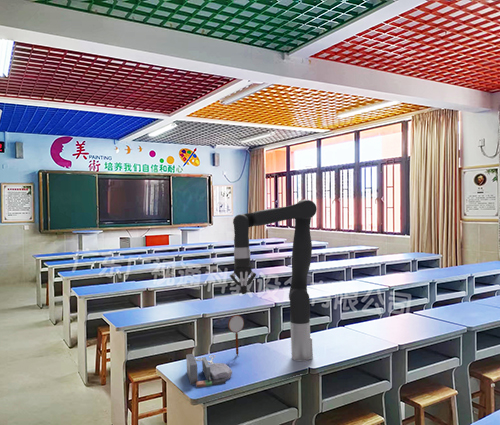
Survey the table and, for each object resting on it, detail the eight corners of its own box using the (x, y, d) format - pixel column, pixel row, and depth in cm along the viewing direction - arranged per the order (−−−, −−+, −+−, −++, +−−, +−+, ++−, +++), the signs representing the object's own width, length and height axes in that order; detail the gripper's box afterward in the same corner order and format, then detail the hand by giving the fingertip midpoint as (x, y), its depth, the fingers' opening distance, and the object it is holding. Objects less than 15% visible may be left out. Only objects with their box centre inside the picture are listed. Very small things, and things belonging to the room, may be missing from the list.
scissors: (212, 353, 206) (229, 365, 188) (212, 355, 206) (229, 367, 188) (192, 358, 201) (208, 370, 183) (192, 359, 201) (208, 372, 183)
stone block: (226, 373, 186) (204, 372, 182) (227, 362, 186) (206, 361, 182) (234, 384, 174) (211, 383, 171) (236, 372, 175) (213, 371, 171)
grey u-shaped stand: (218, 368, 187) (217, 350, 187) (225, 383, 170) (224, 363, 170) (187, 372, 183) (186, 354, 183) (191, 388, 166) (190, 368, 166)
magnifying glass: (230, 358, 200) (228, 316, 200) (228, 357, 201) (227, 316, 201) (246, 354, 203) (244, 314, 204) (244, 353, 205) (242, 313, 205)
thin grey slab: (205, 369, 185) (205, 357, 185) (212, 384, 167) (212, 371, 168) (202, 369, 184) (202, 357, 184) (208, 385, 167) (208, 371, 167)
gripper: (253, 255, 199) (255, 291, 199) (226, 257, 195) (228, 293, 195) (257, 256, 191) (259, 294, 191) (230, 258, 188) (231, 296, 188)
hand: (243, 293), depth 193 cm, fingers closed
